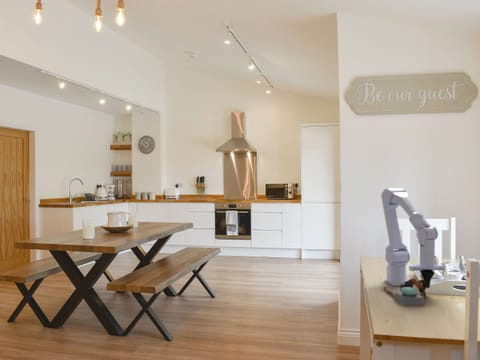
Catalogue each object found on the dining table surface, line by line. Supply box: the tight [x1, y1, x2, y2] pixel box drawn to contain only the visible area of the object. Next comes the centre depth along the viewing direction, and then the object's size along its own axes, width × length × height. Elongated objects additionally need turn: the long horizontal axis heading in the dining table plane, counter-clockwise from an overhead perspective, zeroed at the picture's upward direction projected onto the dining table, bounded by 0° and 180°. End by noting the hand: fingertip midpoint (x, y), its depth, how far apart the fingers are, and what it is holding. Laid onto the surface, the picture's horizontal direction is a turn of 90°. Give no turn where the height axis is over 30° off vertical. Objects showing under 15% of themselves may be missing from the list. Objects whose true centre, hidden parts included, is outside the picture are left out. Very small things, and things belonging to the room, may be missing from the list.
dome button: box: [400, 287, 419, 296], centre depth 161 cm, size 6×6×4 cm
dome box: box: [394, 291, 425, 307], centre depth 161 cm, size 8×8×3 cm
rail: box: [383, 286, 395, 299], centre depth 171 cm, size 14×1×2 cm, turn 2°
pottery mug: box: [398, 277, 427, 299], centre depth 170 cm, size 12×10×8 cm
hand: (426, 287), depth 172 cm, fingers closed
